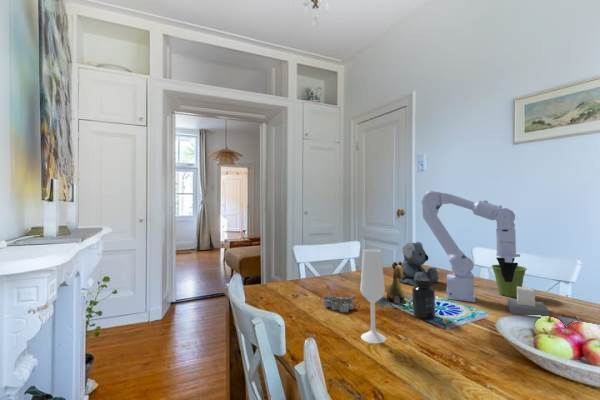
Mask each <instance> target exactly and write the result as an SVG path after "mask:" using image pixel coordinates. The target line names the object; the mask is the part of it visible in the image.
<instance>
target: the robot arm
mask: <svg viewBox="0 0 600 400" xmlns="http://www.w3.org/2000/svg"><path fill="white" fill-rule="evenodd" d="M448 204H450V205H453V206H454V205H455V206H458V207H461V208H465V209H468V210H471V211H472V213H473V214H474V215H475V216H478V217H481V218H484V219H487V220H489V221H496V229H495V231H496V232H495V233H496V235H495V236H496V239H495V241H496V253H495V256H496V257H495V259H496V260H497V262H498V265H500V269H501V273H502V277H503V278H504V281H505V282H512V280H513V276H514V271H515V269H516V267H517V266H519V263H518V262H515V258H520V257H521V254H518V253H517V245H516V244H517V243H516V241H517V240H516V229H515V227H516V223H515V220H516V215H515V213H514V211H513V210H512V209H509V208H508V207H507V208H506V207H504V208H503V206H502V205H496V204H492V203H490V202H489V201H488V200H478V201H476V202H475V201H471V200H469V199H466V198H462V197H461V196H457V195H454V194H451V193H447V192H445V193H444V192H440V191H434V190H429V191H427V192H425V193H424V194H423V197H422V199H421V205H422V218H423V220H424V222H425V223H426V225H428V227H429V229H430V230H431V232H432V234H433V235H434V236H435V238H436V240H437V241H438V243H439V244H440V245H441V248H442V249H443V250H444V252H445V253H446V256H447V258H448V262H449V263H450V265H451V266H450V267H451V270H452V273H451V274H450V273H448V274H446V295H447V296H446V299H448V300H455V301H463V302H471V303H475V302H476V295H475V285H474V284H475V283H474V281H475V277H474V274H473V273H472V271H473V269H474V261H473V260H472V259H471V258H470V257H468V256H466V254H465V253H464V252H463V251H462V250H461V249H460V248H459V246H458V245H457V243H456V241H455V240H454V239H453V237H452V235H450V233H449V231H448V230H447V228H446V227H445V225H444V224H443V223H442V221H441V219H440V218H439V216H438V214H439V210H440V208H441V207H442V206H443V205H448Z"/></svg>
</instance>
